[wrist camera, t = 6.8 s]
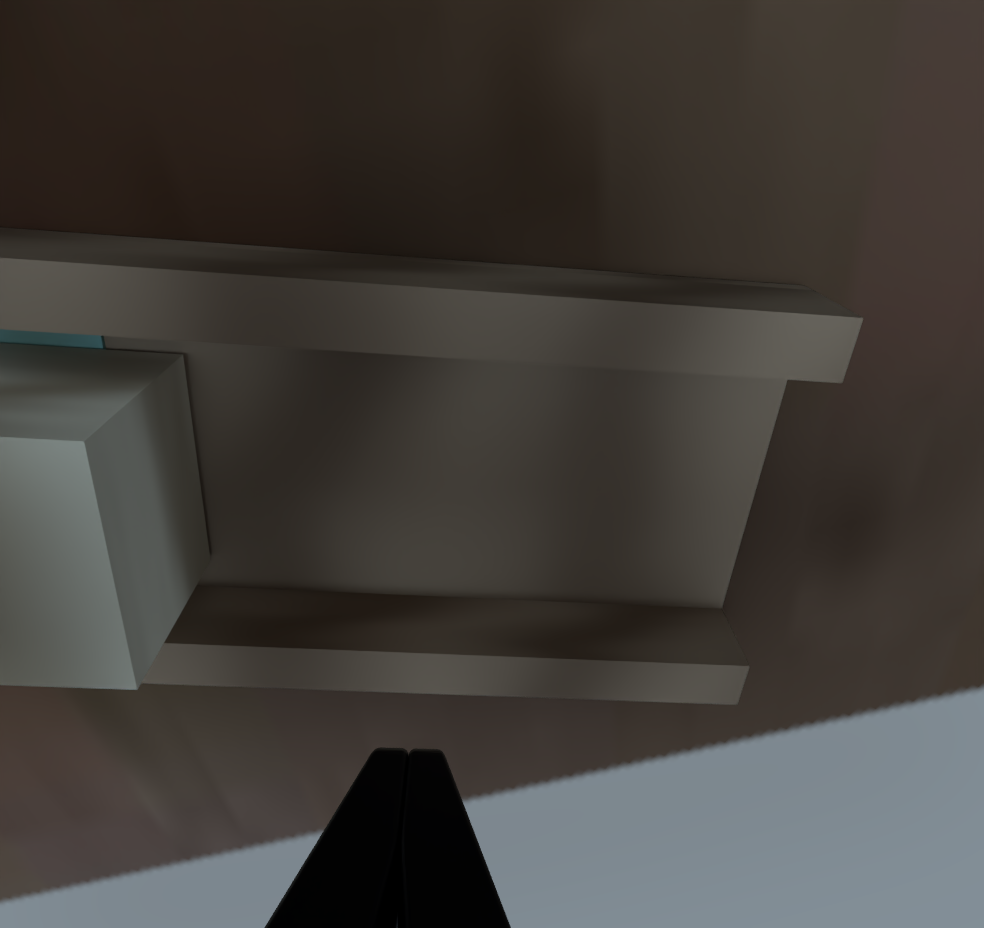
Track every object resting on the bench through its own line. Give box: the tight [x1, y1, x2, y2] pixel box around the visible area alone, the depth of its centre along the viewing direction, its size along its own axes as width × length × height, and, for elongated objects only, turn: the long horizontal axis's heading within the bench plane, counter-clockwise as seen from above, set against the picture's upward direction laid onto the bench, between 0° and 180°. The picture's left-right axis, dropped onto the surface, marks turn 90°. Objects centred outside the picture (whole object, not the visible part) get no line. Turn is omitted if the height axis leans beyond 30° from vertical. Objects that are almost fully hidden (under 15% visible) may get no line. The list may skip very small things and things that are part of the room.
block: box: [0, 343, 210, 690], centre depth 13 cm, size 5×5×4 cm
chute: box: [0, 227, 863, 705], centre depth 15 cm, size 20×9×2 cm, turn 86°
